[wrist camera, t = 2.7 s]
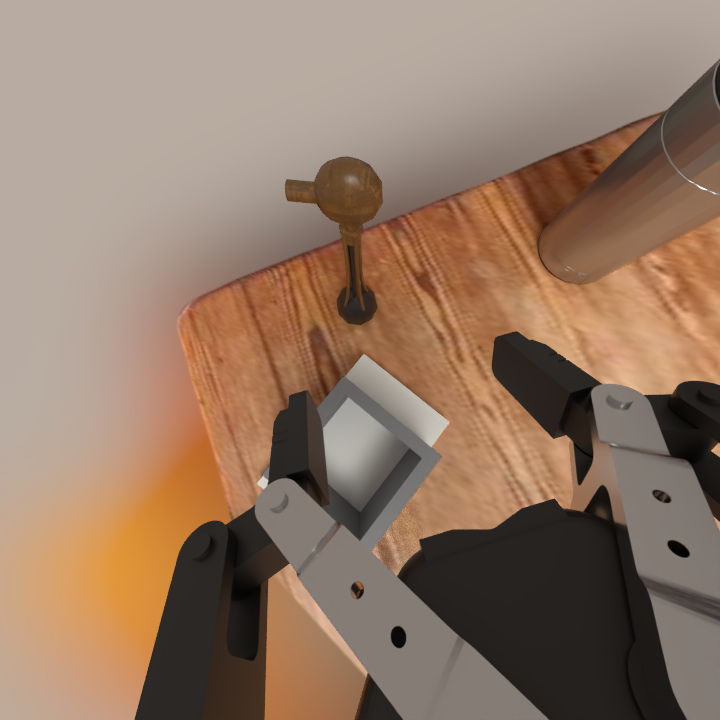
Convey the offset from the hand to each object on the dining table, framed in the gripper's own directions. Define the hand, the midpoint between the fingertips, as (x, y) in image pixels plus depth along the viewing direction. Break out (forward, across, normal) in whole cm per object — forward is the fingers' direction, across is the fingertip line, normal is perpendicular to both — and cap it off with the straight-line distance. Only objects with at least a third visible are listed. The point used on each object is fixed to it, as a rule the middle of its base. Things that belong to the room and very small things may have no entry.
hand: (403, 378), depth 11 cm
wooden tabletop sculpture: (+22, 0, +7) cm, 23 cm away
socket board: (+10, +4, +18) cm, 21 cm away
